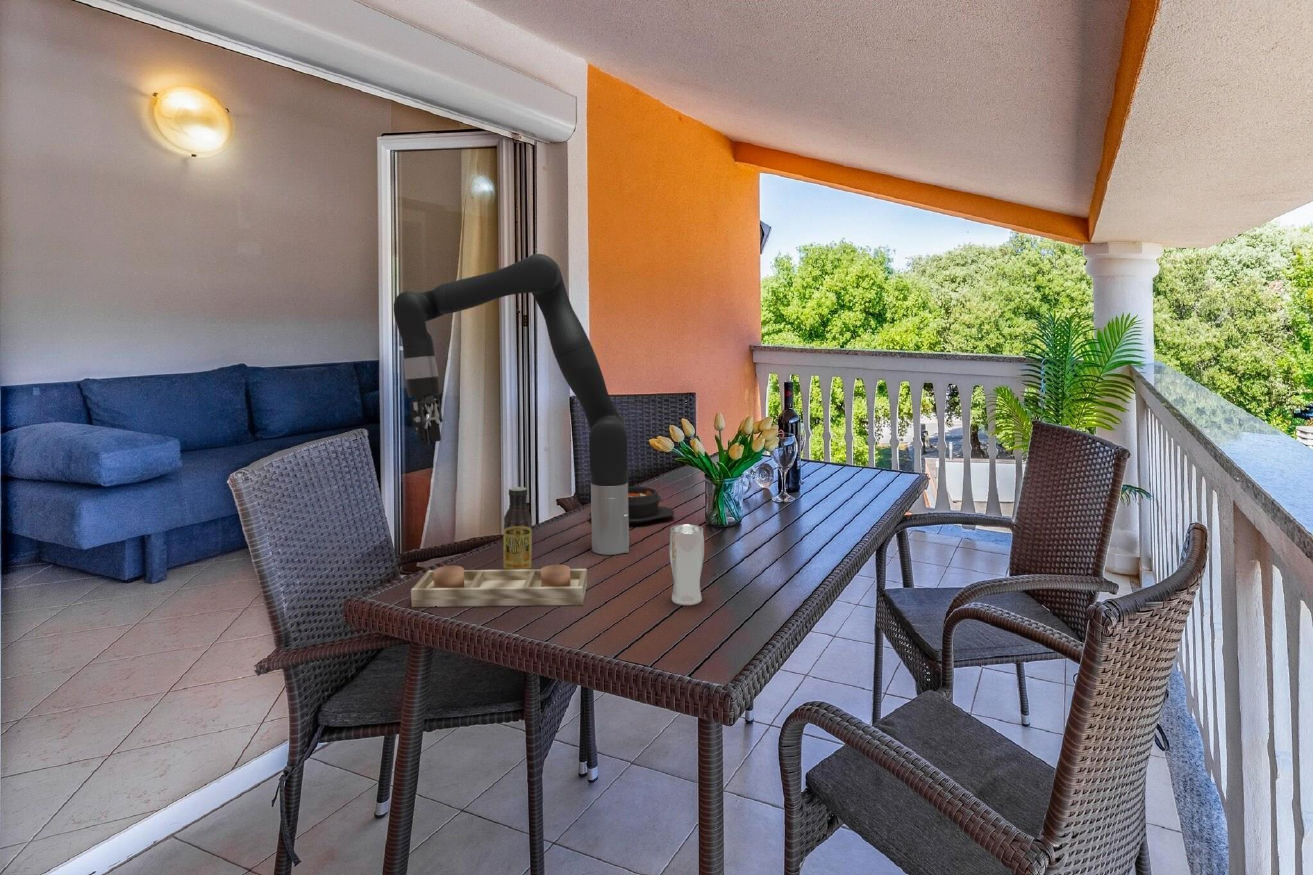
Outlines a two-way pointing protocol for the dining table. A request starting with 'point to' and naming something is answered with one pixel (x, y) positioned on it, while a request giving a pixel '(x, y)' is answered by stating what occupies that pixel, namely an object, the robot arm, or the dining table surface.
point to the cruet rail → (500, 587)
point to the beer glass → (686, 563)
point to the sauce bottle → (517, 532)
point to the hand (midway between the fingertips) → (430, 443)
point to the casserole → (645, 505)
